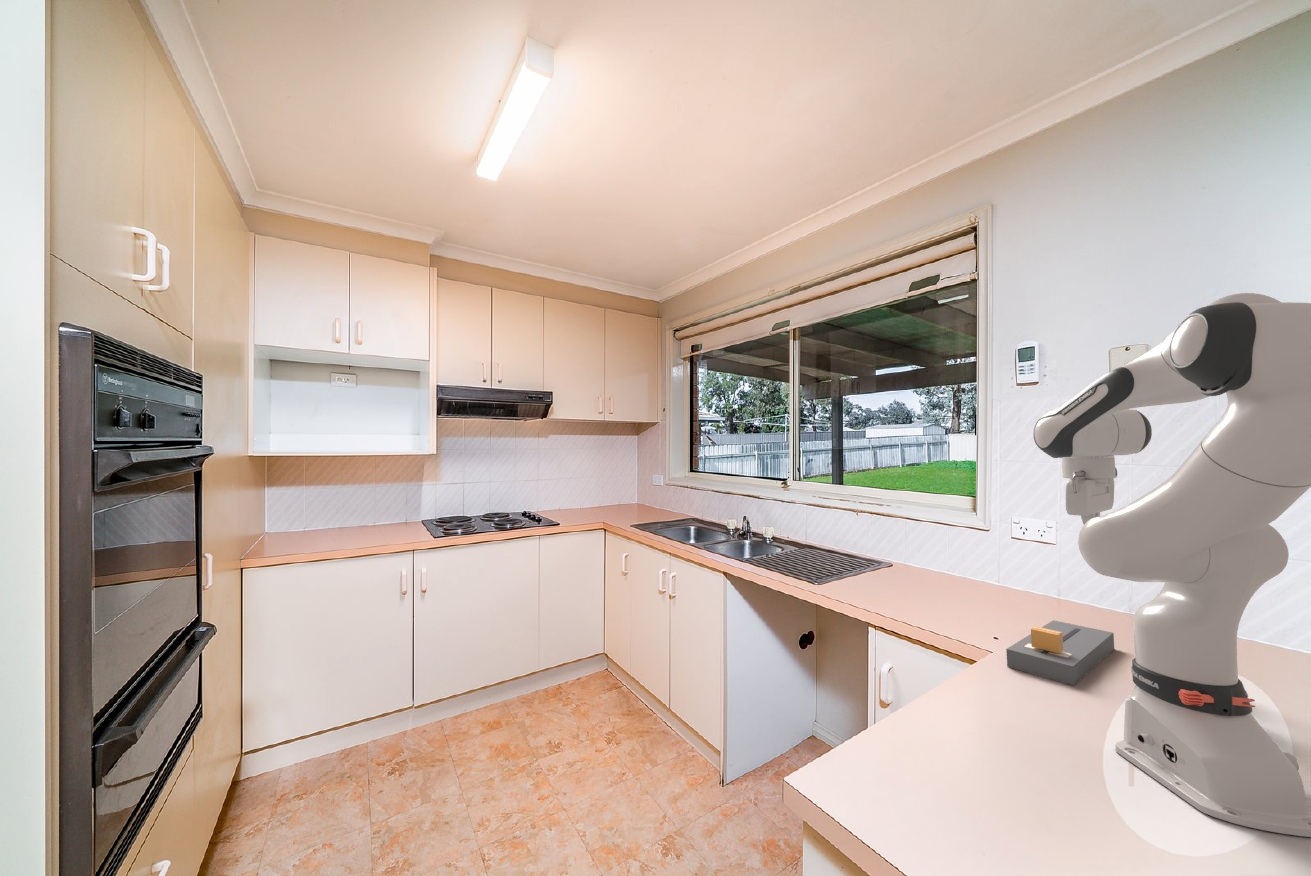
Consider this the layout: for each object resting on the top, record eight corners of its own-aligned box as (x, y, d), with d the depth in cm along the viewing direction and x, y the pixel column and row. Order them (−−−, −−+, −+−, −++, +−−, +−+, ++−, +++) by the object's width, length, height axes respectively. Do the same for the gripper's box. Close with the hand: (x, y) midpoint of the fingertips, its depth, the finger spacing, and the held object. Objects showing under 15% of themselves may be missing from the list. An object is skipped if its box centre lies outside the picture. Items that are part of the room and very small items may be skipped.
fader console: (1074, 685, 102) (1072, 665, 102) (1007, 666, 112) (1006, 648, 112) (1114, 649, 120) (1113, 632, 120) (1054, 635, 130) (1053, 619, 130)
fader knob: (1058, 653, 107) (1057, 634, 108) (1031, 646, 111) (1030, 628, 112) (1063, 650, 109) (1062, 631, 109) (1036, 643, 113) (1035, 625, 113)
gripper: (1093, 472, 99) (1096, 540, 98) (1119, 469, 111) (1122, 530, 110) (1054, 471, 104) (1058, 536, 104) (1083, 469, 116) (1086, 527, 115)
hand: (1091, 533), depth 107 cm, fingers closed
